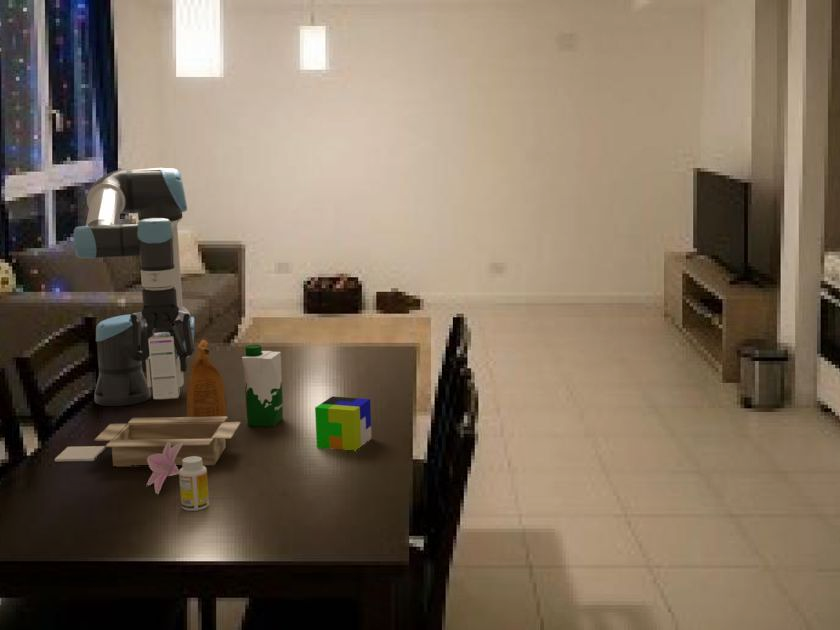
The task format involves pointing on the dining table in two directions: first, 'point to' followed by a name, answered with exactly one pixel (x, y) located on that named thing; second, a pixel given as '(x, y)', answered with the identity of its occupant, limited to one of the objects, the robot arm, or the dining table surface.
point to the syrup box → (163, 366)
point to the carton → (168, 438)
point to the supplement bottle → (193, 484)
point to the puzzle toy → (343, 423)
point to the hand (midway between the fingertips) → (165, 385)
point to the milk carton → (263, 386)
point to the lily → (163, 465)
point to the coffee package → (205, 387)
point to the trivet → (80, 453)
